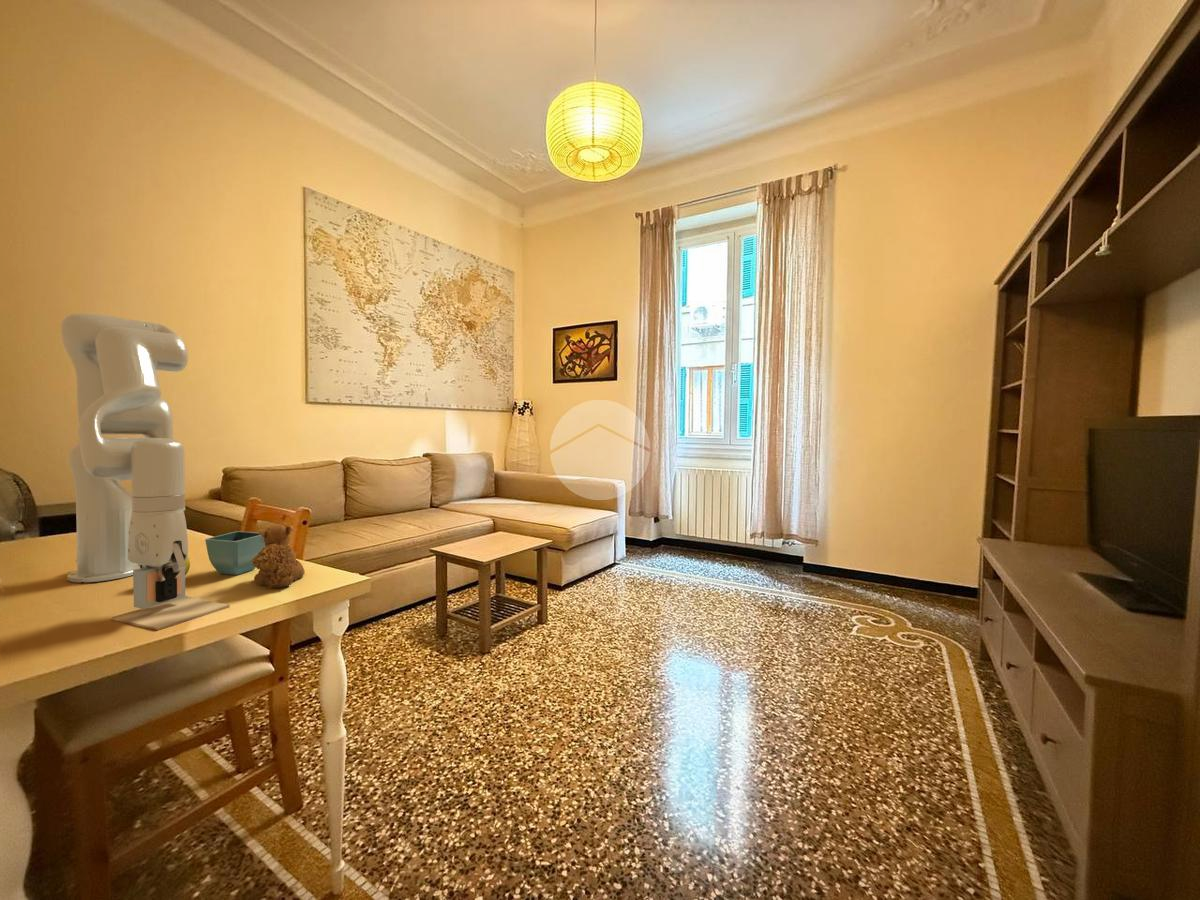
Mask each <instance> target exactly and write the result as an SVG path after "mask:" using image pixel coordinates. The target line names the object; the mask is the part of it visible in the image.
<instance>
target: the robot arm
mask: <svg viewBox="0 0 1200 900" xmlns="http://www.w3.org/2000/svg"><path fill="white" fill-rule="evenodd" d="M60 327H61V339H62V343H63V345H64V349H65V350H66V353H67V355H68V357H69V359H70V361H71V363H72V366H73V368H74V371H75V376H76V404H77V405H76V408H77V420H78V429H77V434H78V435H77V437H78V442H79V443H78V444H76V445H73V447H72V448H71V450H70V451H69V453H68V462H69V468H70V472H71V475H72V480H73V485H74V492H75V493H74V494H75V515H76V517H75V518H76V555H77V557H76V560H75V562H76V563H77V566H76V567H77V570H74V571H71V572H70V573H69V574H67V581H68V580H69V581H68V582H70V581H71V582H72V583H81V582H84V583H95V582H96V583H97V582H104V581H112V580H117V579H118V580H119V579H122V578H123V579H124V578H128V577H131V576H133V570H136V569H140V568H145V567H149V566H151V567H157V569H158V580H159V581H157V582H156V602H163V601H167V600H170V599H174V598H176V597H177V578H178V577H179V572H180V571H181V570H183V569H184V568H186V564H185V560H186V559H187V556H188V557H189V554H188V553H189V540H188V528H187V520H186V516H185V511H186V486H185V485H186V481H185V480H186V479H185V478H186V477H185V476H186V475H185V474H186V473H185V470H186V469H185V447H184V444H183V443H182V442H180V441H178V440H174V433H173V432H174V430H173V429H174V426H173V425H174V422H173V413H172V409H171V407H170V405H169V402H167V401H166V400H165V399H163V398H162V390H161V386H160V382H159V377H158V372H157V371H164V372H174V373H175V372H181V371H184V369H185V368H186V367H187V365H188V360H189V353H188V349H187V346H186V344H185V342H184V340H183V339H182V337H181V336H180V335H179V334H178V333H176V332H175V331H174V330H173V329H171V328H169V327H168V326H166V325H163V324H160V323H155V322H149V321H142V320H135V319H130V318H122V317H117V316H111V315H106V314H105V315H104V314H95V313H72V314H69V315H66V316H65V317H64V318H63V320H62V322H61V326H60ZM103 435H127V436H129V435H132V436H133V435H135V436H136V435H137V436H138V435H141V436H144V437H104V436H103ZM122 481H123V482H125V481H131V483H130V484H131V492H130V491H129V490H128V489H126V488H125V487H123V486H122V485H121V484H120V482H122ZM169 560H170V561H172V562H169V563H168V561H169ZM170 566H171V567H170ZM166 567H170V568H167V570H166V571H165V568H166ZM71 582H70V583H71Z"/></svg>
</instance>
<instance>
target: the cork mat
mask: <svg viewBox="0 0 1200 900" xmlns="http://www.w3.org/2000/svg"><path fill="white" fill-rule="evenodd" d="M229 608H230V604H228V603H227V604H226V603H221V602H217V601H212V600H206V599H203V598H196V597H192V596H187V595H185V597H182V598H179V599H175V600H172V601H168V602H165V603H161V604H158V605H154V606H151V607H147V608H143V609H141V608H138V609H136V610H133V611H128V612H125V613H122V614H118V615H114V616H111V621H112V620H113V621H116V622H121V623H124V624H127V625H128V624H129V625H132V626H136V627H140V626H141V628H146V629H148V630H153V631H161V630H163V629H167V628H170V627H173V626H175V625H178V624H182V623H185V622H188V621H192V620H195V619H197V618H201V617H203V616H206V615H210V614H213V613H215V612H218V611H222V610H225V609H229Z"/></svg>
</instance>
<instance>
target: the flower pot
mask: <svg viewBox="0 0 1200 900" xmlns="http://www.w3.org/2000/svg"><path fill="white" fill-rule="evenodd" d="M262 538H263V537H262V536H261V535H260V534H259V533H258V532H253V531H240V530H237V531H233V532H229V533H225V534H220V535H216V536H213V537H208V538H205V539H204V540H205V545H206V546H205V547H206V550H207V555H208V559H209V561H210V564H211V566H212V567H213V568H214V570H216V571H217V572H218V573H219V574H222V575H233V576H238V575H241V574H244V573H247V572H251V571H253V570H255V569H257V568H256V567H255V566H253V563H252V562H251V560H252V559H253V558H254V557H255V556H257V554H258V552H260V551H262V549H263V547H265V542H263V540H264V538H263V539H262ZM261 539H262V540H261ZM260 540H261V541H260ZM252 566H253V567H252Z"/></svg>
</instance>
